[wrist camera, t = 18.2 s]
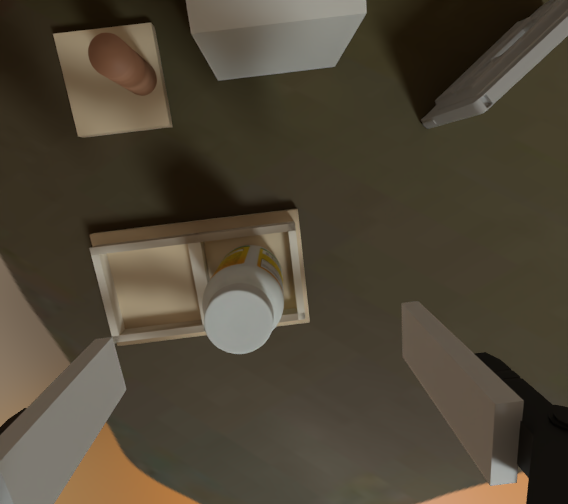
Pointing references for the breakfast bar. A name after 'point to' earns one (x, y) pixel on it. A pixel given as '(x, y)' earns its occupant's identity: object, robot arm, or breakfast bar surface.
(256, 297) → the supplement bottle
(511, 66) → the cassette
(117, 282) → the beige divided tray
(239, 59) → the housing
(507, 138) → the breakfast bar surface
